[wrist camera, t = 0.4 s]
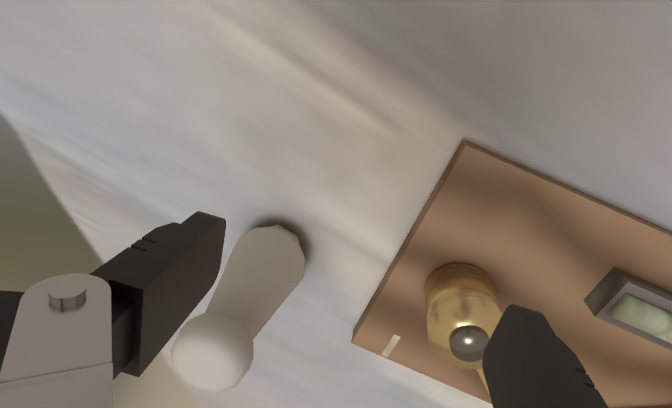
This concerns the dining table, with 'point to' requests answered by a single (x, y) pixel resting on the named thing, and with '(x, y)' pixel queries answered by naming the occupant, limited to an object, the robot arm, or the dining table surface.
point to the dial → (461, 315)
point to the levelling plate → (536, 277)
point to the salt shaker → (239, 309)
